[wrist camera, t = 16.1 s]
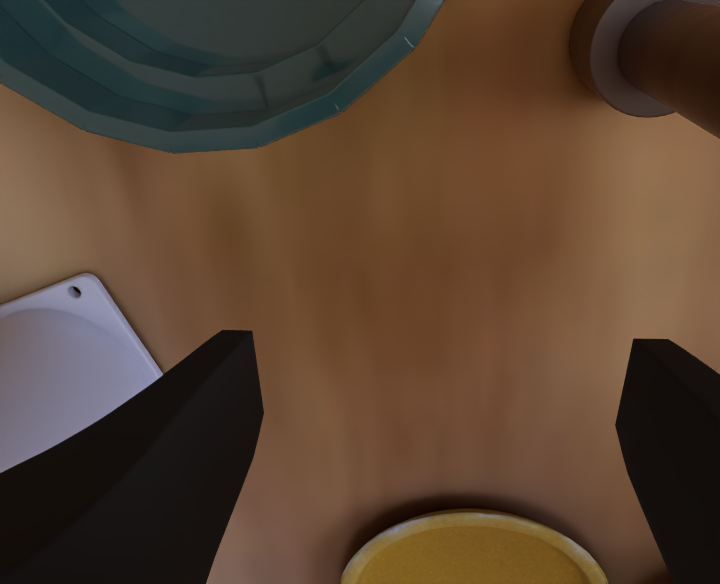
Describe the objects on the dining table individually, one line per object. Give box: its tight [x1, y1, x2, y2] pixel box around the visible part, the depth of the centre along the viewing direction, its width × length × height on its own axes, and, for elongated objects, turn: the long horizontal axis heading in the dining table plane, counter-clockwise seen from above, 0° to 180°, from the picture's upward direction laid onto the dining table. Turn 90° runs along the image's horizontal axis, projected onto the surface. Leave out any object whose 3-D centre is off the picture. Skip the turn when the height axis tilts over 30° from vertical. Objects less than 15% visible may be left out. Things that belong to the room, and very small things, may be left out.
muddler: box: [569, 0, 720, 139], centre depth 13 cm, size 4×4×11 cm
